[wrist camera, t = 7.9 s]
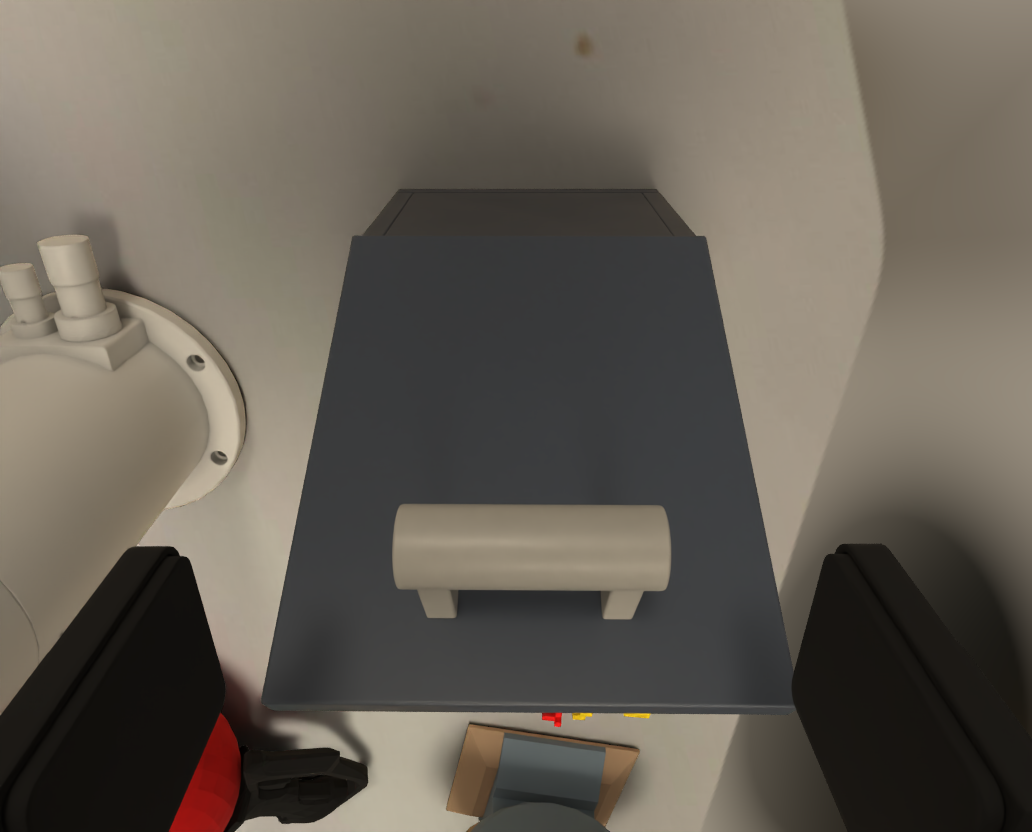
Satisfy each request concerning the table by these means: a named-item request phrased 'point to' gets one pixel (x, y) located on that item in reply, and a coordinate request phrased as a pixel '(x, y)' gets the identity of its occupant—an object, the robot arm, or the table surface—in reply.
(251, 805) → the decorative object
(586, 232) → the open box
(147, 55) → the table surface
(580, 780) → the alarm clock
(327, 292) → the table surface
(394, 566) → the box lid
